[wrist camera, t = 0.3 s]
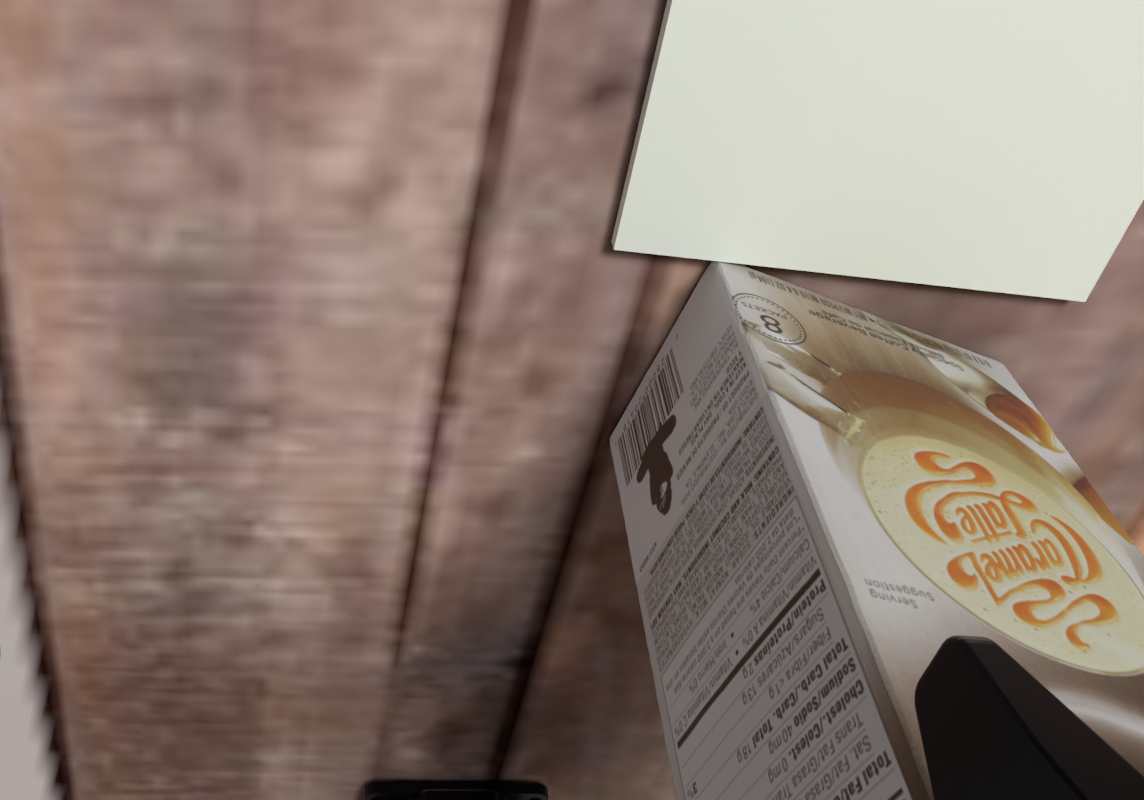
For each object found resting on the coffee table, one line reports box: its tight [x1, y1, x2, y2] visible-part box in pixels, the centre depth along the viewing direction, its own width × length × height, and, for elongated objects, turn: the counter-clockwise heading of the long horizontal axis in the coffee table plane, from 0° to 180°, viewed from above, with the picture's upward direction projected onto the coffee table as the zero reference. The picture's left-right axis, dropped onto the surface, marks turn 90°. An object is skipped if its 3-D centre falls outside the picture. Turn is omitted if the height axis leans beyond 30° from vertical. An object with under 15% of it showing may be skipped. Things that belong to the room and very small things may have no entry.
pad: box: [612, 0, 1144, 302], centre depth 22 cm, size 9×12×1 cm
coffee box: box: [610, 261, 1144, 800], centre depth 21 cm, size 9×6×16 cm
